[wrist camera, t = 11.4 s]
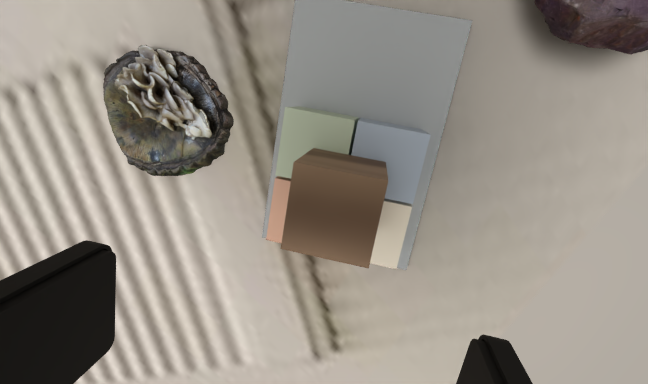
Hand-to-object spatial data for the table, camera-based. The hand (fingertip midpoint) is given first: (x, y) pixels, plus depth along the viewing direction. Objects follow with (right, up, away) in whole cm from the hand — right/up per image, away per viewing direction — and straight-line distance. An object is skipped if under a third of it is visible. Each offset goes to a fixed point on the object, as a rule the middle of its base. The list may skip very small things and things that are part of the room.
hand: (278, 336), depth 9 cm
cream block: (+5, +2, +21) cm, 22 cm away
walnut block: (+2, +4, +16) cm, 16 cm away
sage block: (+1, +8, +20) cm, 21 cm away
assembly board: (+4, +8, +21) cm, 22 cm away
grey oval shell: (-13, +11, +23) cm, 28 cm away
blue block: (+6, +7, +19) cm, 21 cm away
